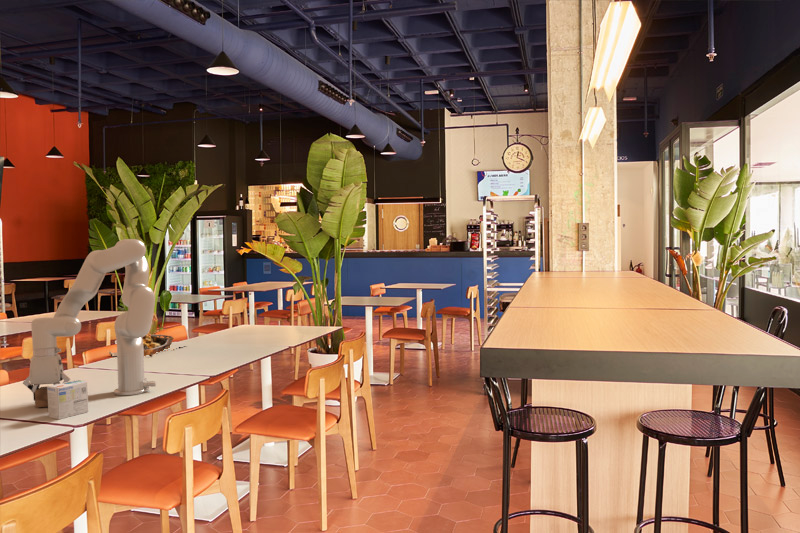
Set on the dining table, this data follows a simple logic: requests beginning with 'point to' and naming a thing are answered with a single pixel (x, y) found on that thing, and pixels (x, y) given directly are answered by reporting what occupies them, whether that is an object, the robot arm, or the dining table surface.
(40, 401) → the walnut cube
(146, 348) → the food tray
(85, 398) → the light bulb box
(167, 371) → the dining table surface
